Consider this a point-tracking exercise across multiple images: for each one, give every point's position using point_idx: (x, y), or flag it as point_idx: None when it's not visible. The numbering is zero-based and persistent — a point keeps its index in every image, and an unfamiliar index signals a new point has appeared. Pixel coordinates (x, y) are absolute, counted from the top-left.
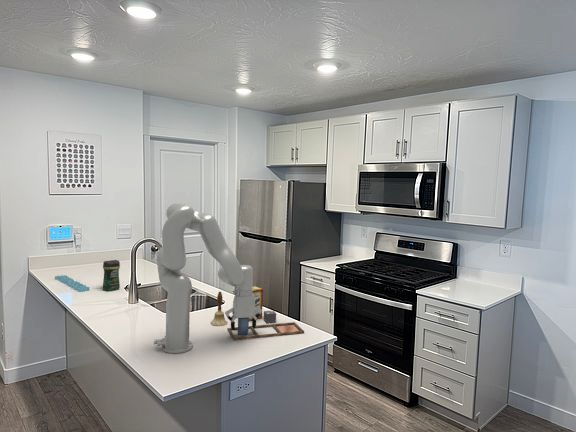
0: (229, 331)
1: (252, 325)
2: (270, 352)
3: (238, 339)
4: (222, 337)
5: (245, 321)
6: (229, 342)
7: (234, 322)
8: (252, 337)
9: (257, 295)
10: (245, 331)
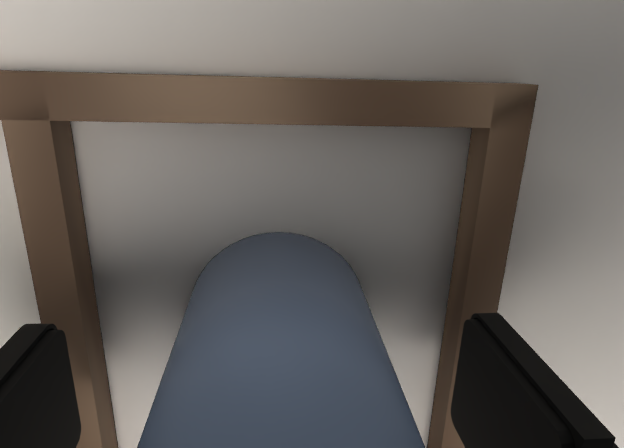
0: None
1: (64, 425)
2: None
3: (427, 81)
4: (612, 256)
5: (255, 413)
6: (604, 15)
7: (567, 441)
8: (154, 76)
9: None
10: (256, 266)
